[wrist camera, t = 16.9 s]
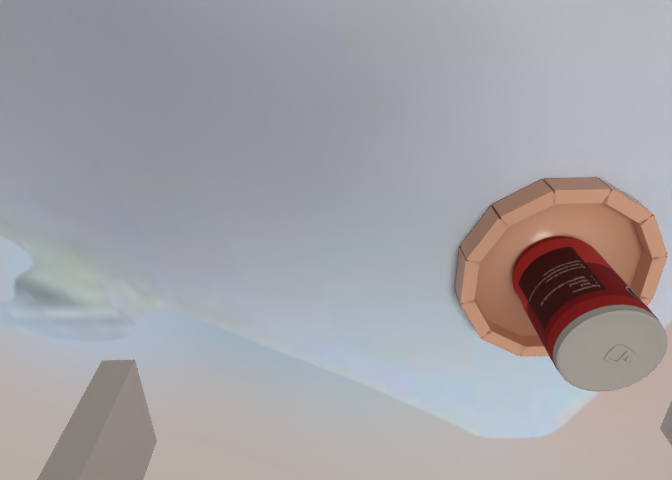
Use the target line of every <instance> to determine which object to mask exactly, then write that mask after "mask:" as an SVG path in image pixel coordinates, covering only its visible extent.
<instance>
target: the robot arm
mask: <svg viewBox="0 0 672 480" xmlns="http://www.w3.org/2000/svg"><path fill="white" fill-rule="evenodd" d="M660 429H661V431H662V432H663V433H664V435H665V436H666V438H667V439H668V441H669V442H670V443H671V445H672V401H671V404H670V406H669V409H668V411H667V413H666V416H665V418H664V420H663V423H662V425H661V428H660ZM155 444H156V437H155V433H154V429H153V425H152V421H151V418H150V414H149V411H148V407H147V403H146V399H145V395H144V392H143V388H142V384H141V381H140V377H139V373H138V369H137V366H136V362H135V360H112V361H111V360H110V361H102V362H101V364H100V366H99V367H98V369H97V371H96V373H95V375H94V376H93V378H92V380H91V382H90V384H89V386H88V387H87V389H86V391H85V393H84V395H83V397H82V399H81V400H80V402H79V404H78V406H77V408H76V409H75V411H74V413H73V415H72V417H71V419H70V420H69V422H68V424H67V426H66V428H65V430H64V431H63V433H62V435H61V437H60V439H59V441H58V443H57V444H56V446H55V448H54V450H53V452H52V453H51V455H50V457H49V459H48V461H47V463H46V464H45V466H44V468H43V470H42V472H41V473H40V475H39V477H38V479H37V480H143V479H144V476H145V473H146V470H147V467H148V464H149V461H150V458H151V455H152V453H153V450H154V447H155Z"/></svg>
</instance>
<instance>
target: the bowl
mask: <svg viewBox="0 0 672 480" xmlns="http://www.w3.org/2000/svg"><path fill="white" fill-rule="evenodd" d="M493 206H494V207H492V206H490V207H489V208H488V210H487V211H486V212H485V213H484V215H483V216H482V217H481V219H480V220H479V221H478V223H477V224H476V225H475V226H474V228H473V229H472V230H471V232H470V233H469V234H468V236H467V237H466V238H465V239H464V241H463V242H462V243H461V245H460V246H461V247H459V255H458V263H457V272H456V280H455V291H456V294H457V296H458V299H459V302H460V304H461V306H462V308H463V310H464V311H465V313H466V315H467V316H468V318H469V320H470V321H471V323H472V325H473V326H474V328H475V330H476V331H477V333H478V335H479V337H480V338H481V339H483V340H485V341H487V342H489V343H491V344H494V345H496V346H498V347H500V348H502V349H504V350H507V351H509V352H511V353H513V354H515V355H517V356H519V355H520V356H549V355H548V353H547V351H546V349H545V347H544V345H543V343H542V342H541V340H540V338H539V336H538V334H537V332H536V330H535V329H534V327H533V325H532V323H531V321H530V319H529V318H528V316H527V314H526V312H525V310H524V308H523V306H522V305H521V303H520V301H519V299H518V297H517V295H516V293H515V291H514V289H513V282H512V275H513V268H514V265H515V263H516V261H517V259H518V258H519V256H520V255H521V254H522V253H523V252H524V251H525V250H526V249H527V248H528V247H529V246H531V245H532V244H534V243H536V242H538V241H540V240H543V239H545V238H549V237H554V236H567V237H573V238H576V239H579V240H581V241H583V242H585V243H587V244H589V245H591V246H592V247H593V248H594V249H595V250H596V251H597V252H598V253H599V254H600V255H601V256H602V257H603V259H604V260H605V261H606V262H607V263H608V264H609V265H610V266H611V267H612V268H613V270H614V271H615V272H616V273H617V274H618V275H619V276H620V277H621V278H622V279H623V281H624V282H625V283H626V284H627V285H628V286H629V287H630V288H631V289H632V290H633V292H634V293H635V294H636V295H637V296H638V297H639V298H640V299H641V300H642V302H643V303H644V304H645V305H646V306H647V305H648V304H649V303H650V302H651V300H650V299H653V297H654V294H655V291H656V288H657V285H658V283H659V280H660V277H661V274H662V271H663V268H664V265H665V262H666V259H667V256H666V255H667V252H666V249H665V246H664V243H663V240H662V237H661V234H660V231H659V228H658V225H657V222H656V219H655V215H654V214H653V213H652V212H651V211H649V210H648V209H647V208H646V207H644V206H643V205H642V204H641V203H639V202H638V201H637V200H635V199H633V198H632V197H630V196H628V195H627V194H625V193H623V192H622V191H620V190H618V189H617V188H615V187H613V186H612V185H610V184H608V183H607V182H605V181H603V180H602V179H600V178H599V179H598V178H597V177H596V178H548V179H544V181H543V180H542V179H541V180H539V181H537V182H535V183H533V184H531V185H529V186H527V187H525V188H523V189H521V190H519V191H517V192H515V193H513V194H511V195H509V196H507V197H506V198H504V199H502V200H500V201H498V202H496V203H494V204H493Z"/></svg>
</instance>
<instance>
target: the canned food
mask: <svg viewBox="0 0 672 480" xmlns="http://www.w3.org/2000/svg"><path fill="white" fill-rule="evenodd" d="M512 282H513V289H514V291H515V293H516V295H517V297H518V299H519V301H520V303H521V305H522V306H523V308H524V310H525V312H526V314H527V316H528V318H529V319H530V321H531V323H532V325H533V327H534V329H535V330H536V332H537V334H538V336H539V338H540V340H541V342H542V343H543V345H544V347H545V349H546V351H547V353H548V355H549V356H550V358H551V360H552V361H553V363H554V365H555V367H556V369H557V370H558V371H559V372H560V374H561V375H562V376H563V378H564V379H565V380H566V381H567V382H569V383H570V384H571V385H573V386H576V387H578V388H580V389H584V390H588V391H611V390H616V389H620V388H624V387H627V386H629V385H632V384H634V383H636V382H638V381H640V380H641V379H643V378H644V377H646V376H647V375H649V373H651V372H652V371H653V370H654V369H655V368H656V367H657V366H658V364H659V363H660V362H661V360H662V359H663V357H664V355H665V352H666V349H667V335H666V331H665V329H664V328H663V326H662V325H661V323H660V322H659V320H658V319H657V317H656V316H655V315H654V314H653V313H652V312H651V311H650V309H649V308H648V307H647V306H646V305H645V304H644V303H643V302H642V300H641V299H640V298H639V297H638V296H637V295H636V294H635V293H634V292H633V290H632V289H631V288H630V287H629V286H628V285H627V284H626V283H625V282H624V281H623V279H622V278H621V277H620V276H619V275H618V274H617V273H616V272H615V271H614V270H613V268H612V267H611V266H610V265H609V264H608V263H607V262H606V261H605V260H604V259H603V257H602V256H601V255H600V254H599V253H598V252H597V251H596V250H595V249H594V248H593V247H592V246H591V245H589V244H587V243H585V242H583V241H581V240H579V239H576V238H573V237H567V236H554V237H549V238H545V239H543V240H540V241H538V242H536V243H534V244H532V245H531V246H529V247H528V248H527V249H526V250H525V251H524V252H523V253H522V254H521V255H520V256H519V258H518V259H517V261H516V263H515V265H514V268H513V275H512Z"/></svg>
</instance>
